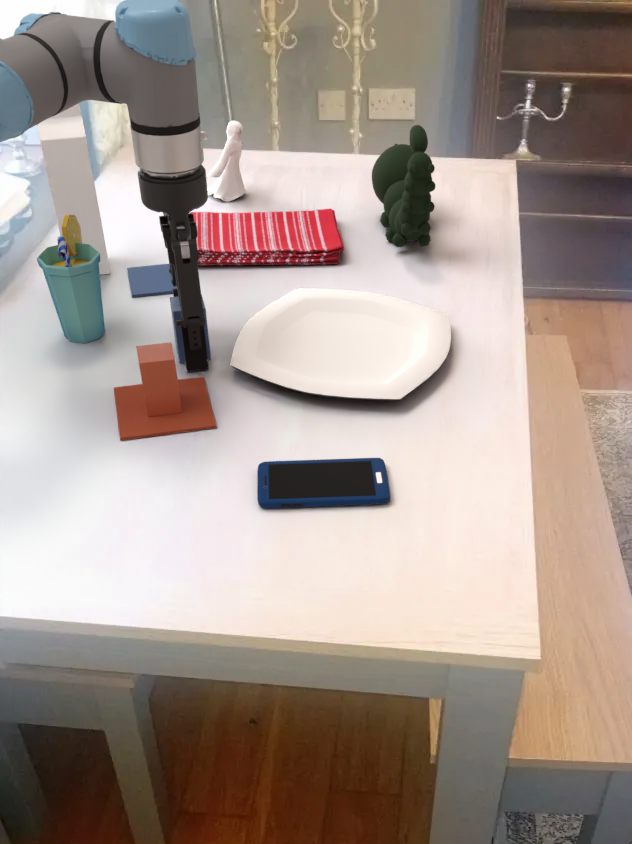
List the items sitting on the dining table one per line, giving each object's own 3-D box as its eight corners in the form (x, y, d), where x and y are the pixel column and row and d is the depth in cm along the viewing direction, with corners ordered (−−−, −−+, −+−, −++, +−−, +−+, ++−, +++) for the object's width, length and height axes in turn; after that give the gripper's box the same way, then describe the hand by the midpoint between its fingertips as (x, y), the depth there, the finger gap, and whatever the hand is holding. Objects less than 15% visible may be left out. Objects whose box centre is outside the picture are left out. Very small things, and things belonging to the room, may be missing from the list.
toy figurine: (443, 271, 137) (420, 194, 153) (458, 143, 122) (430, 72, 138) (382, 273, 136) (365, 195, 152) (390, 145, 122) (369, 73, 138)
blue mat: (132, 297, 127) (131, 295, 126) (127, 270, 133) (126, 267, 133) (195, 291, 128) (195, 288, 128) (188, 264, 134) (187, 261, 134)
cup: (116, 360, 114) (94, 244, 104) (53, 366, 113) (25, 249, 103) (112, 309, 124) (92, 198, 114) (55, 314, 123) (29, 202, 112)
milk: (110, 274, 132) (82, 110, 116) (68, 279, 131) (34, 114, 115) (106, 256, 136) (78, 96, 120) (65, 261, 135) (31, 99, 119)
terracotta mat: (120, 440, 102) (119, 437, 102) (114, 390, 109) (113, 387, 109) (216, 428, 104) (216, 425, 103) (204, 379, 111) (203, 376, 111)
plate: (413, 428, 104) (414, 413, 103) (203, 384, 110) (201, 369, 109) (470, 322, 122) (472, 309, 120) (287, 290, 128) (286, 277, 127)
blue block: (179, 363, 114) (172, 311, 109) (176, 348, 117) (169, 296, 112) (211, 359, 115) (205, 308, 110) (206, 344, 117) (201, 293, 112)
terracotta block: (147, 417, 105) (138, 363, 100) (144, 399, 107) (136, 345, 102) (182, 412, 105) (174, 359, 100) (178, 395, 108) (171, 341, 103)
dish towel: (345, 265, 134) (345, 248, 132) (185, 267, 133) (184, 250, 131) (336, 220, 146) (336, 203, 144) (190, 221, 145) (188, 204, 143)
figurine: (239, 206, 150) (234, 129, 142) (195, 200, 152) (187, 124, 143) (254, 189, 155) (250, 114, 147) (212, 184, 157) (205, 109, 148)
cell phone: (391, 504, 94) (391, 498, 93) (257, 509, 93) (257, 503, 92) (384, 462, 99) (384, 456, 98) (257, 466, 98) (257, 461, 98)
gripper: (218, 198, 93) (234, 390, 109) (193, 133, 107) (211, 311, 123) (145, 204, 92) (172, 398, 108) (129, 138, 106) (156, 317, 122)
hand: (193, 351), depth 115 cm, fingers open, 8 cm apart
